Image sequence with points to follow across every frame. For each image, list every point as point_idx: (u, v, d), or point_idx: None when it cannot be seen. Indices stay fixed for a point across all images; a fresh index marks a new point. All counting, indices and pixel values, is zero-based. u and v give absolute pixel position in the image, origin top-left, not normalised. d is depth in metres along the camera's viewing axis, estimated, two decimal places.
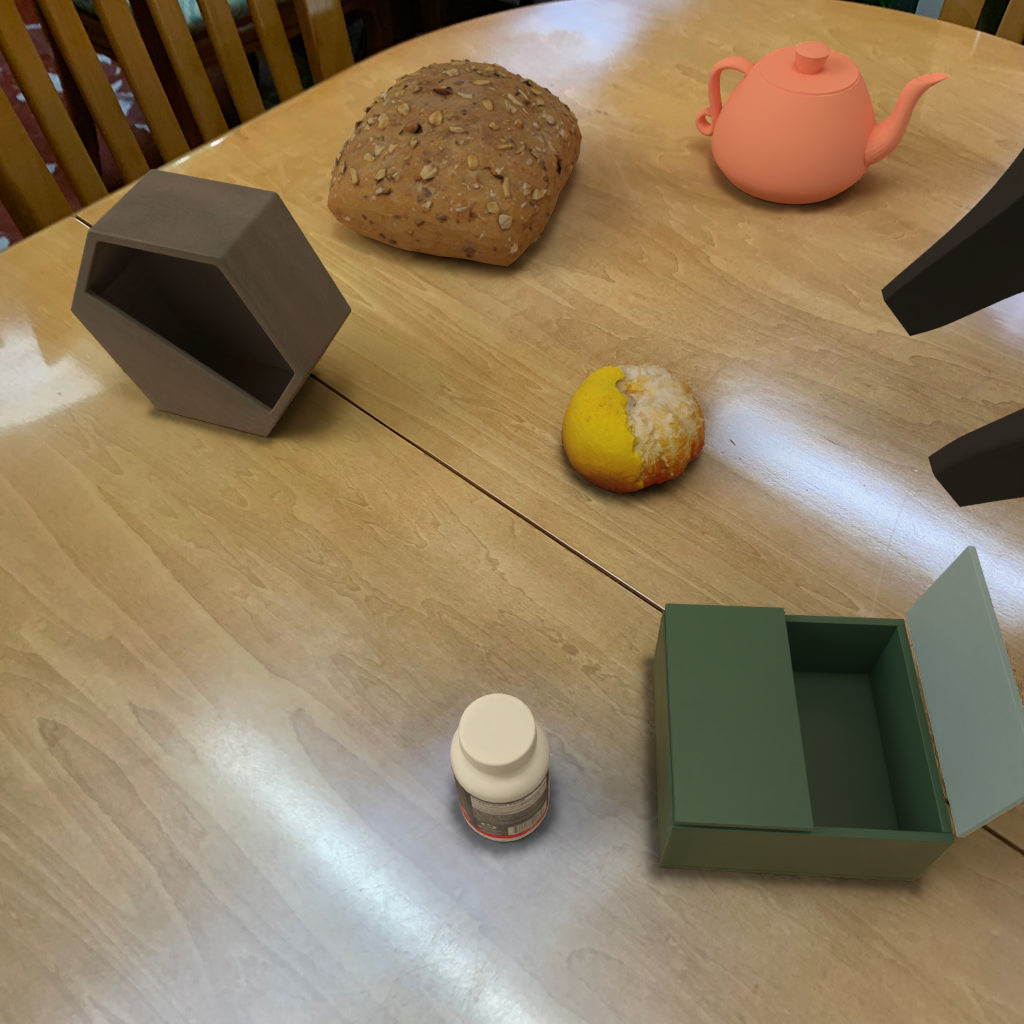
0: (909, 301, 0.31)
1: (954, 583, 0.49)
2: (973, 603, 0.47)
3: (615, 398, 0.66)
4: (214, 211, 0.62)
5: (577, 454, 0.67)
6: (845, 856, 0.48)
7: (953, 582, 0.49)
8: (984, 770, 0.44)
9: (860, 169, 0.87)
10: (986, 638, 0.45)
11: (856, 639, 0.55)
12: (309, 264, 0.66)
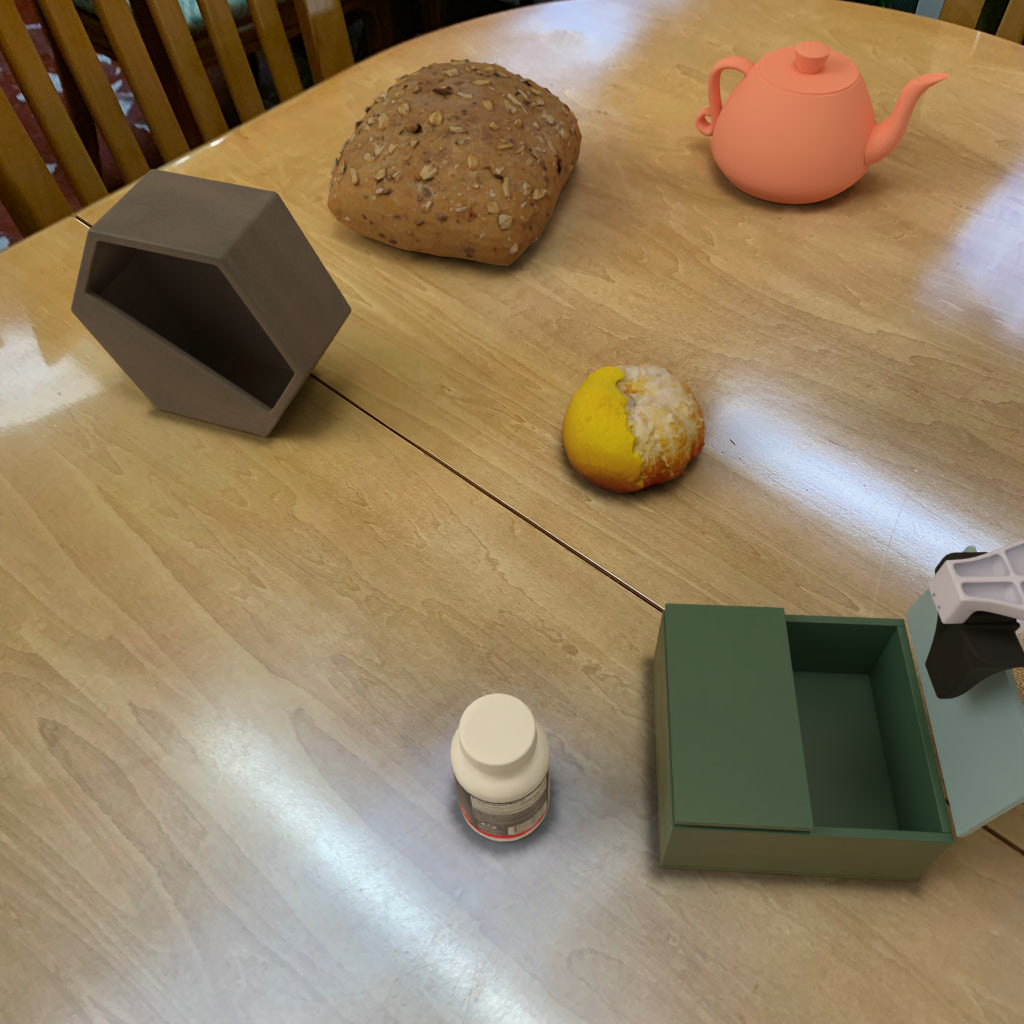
0: None
1: None
2: None
3: (615, 398, 0.66)
4: (214, 211, 0.62)
5: (577, 454, 0.67)
6: (845, 856, 0.48)
7: None
8: (984, 770, 0.44)
9: (860, 169, 0.87)
10: None
11: (856, 639, 0.55)
12: (309, 264, 0.66)
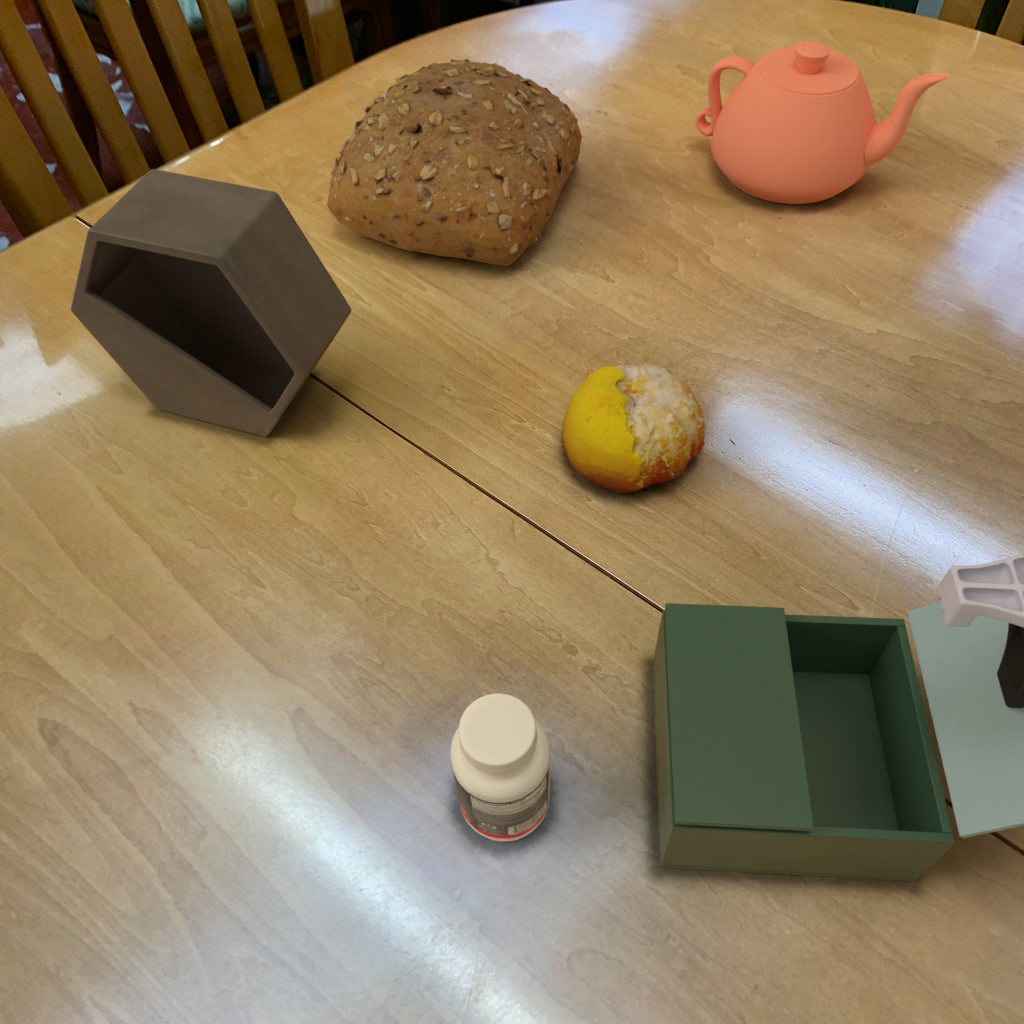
0: None
1: None
2: None
3: (615, 398, 0.66)
4: (214, 211, 0.62)
5: (577, 454, 0.67)
6: (845, 856, 0.48)
7: None
8: (1018, 779, 0.45)
9: (860, 169, 0.87)
10: None
11: (856, 639, 0.55)
12: (309, 264, 0.66)
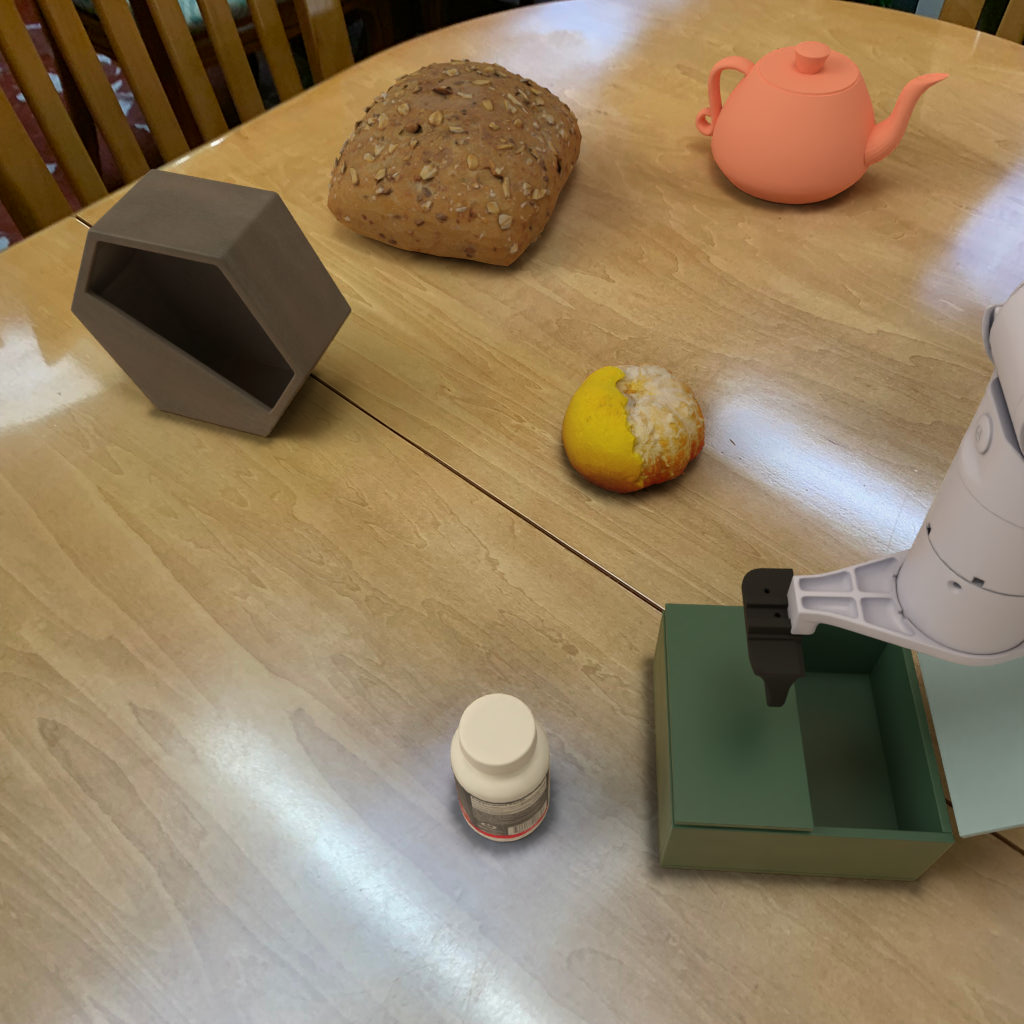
0: None
1: None
2: None
3: (615, 398, 0.66)
4: (214, 211, 0.62)
5: (577, 454, 0.67)
6: (845, 856, 0.48)
7: None
8: (1019, 779, 0.45)
9: (860, 169, 0.87)
10: None
11: (856, 639, 0.55)
12: (309, 264, 0.66)
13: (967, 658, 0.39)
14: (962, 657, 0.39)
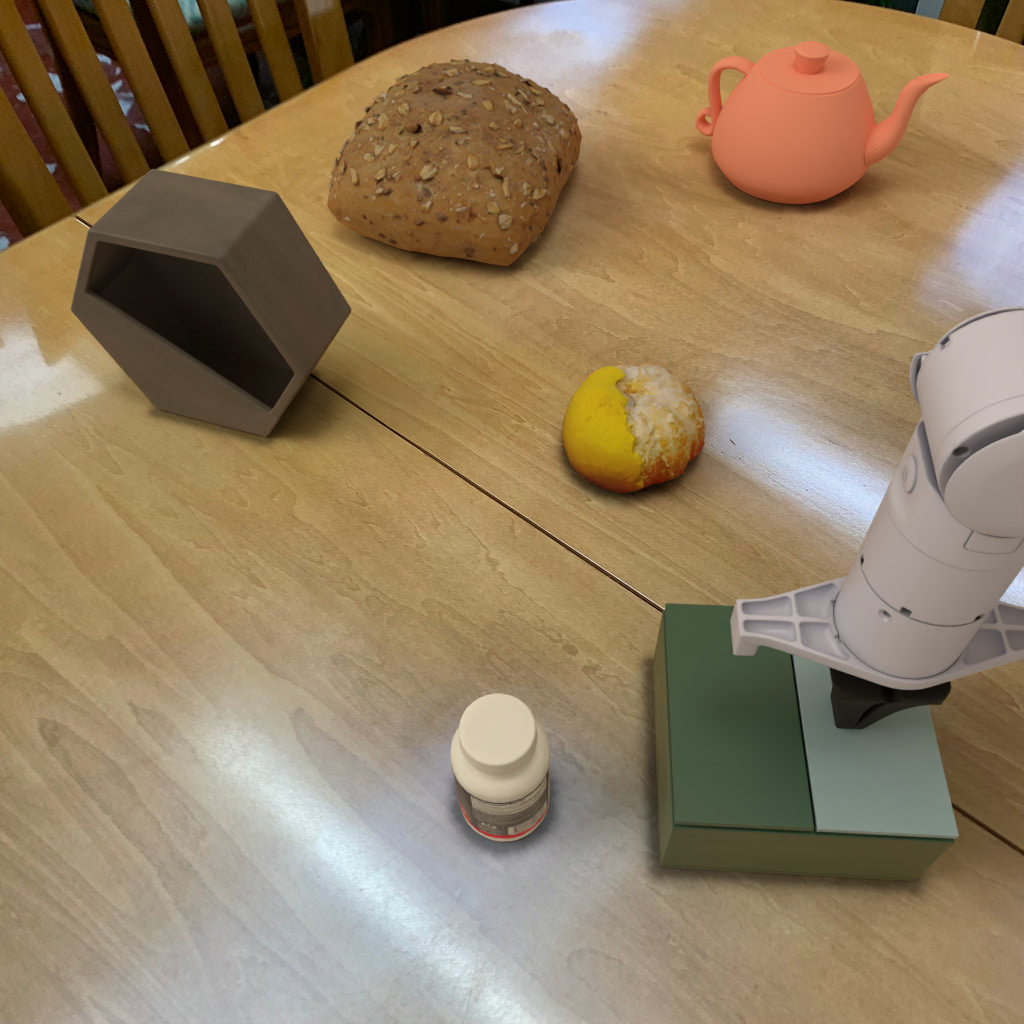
0: None
1: None
2: None
3: (615, 398, 0.66)
4: (214, 211, 0.62)
5: (577, 454, 0.67)
6: (845, 856, 0.48)
7: None
8: None
9: (860, 169, 0.87)
10: None
11: None
12: (309, 264, 0.66)
13: (897, 682, 0.41)
14: (892, 681, 0.41)
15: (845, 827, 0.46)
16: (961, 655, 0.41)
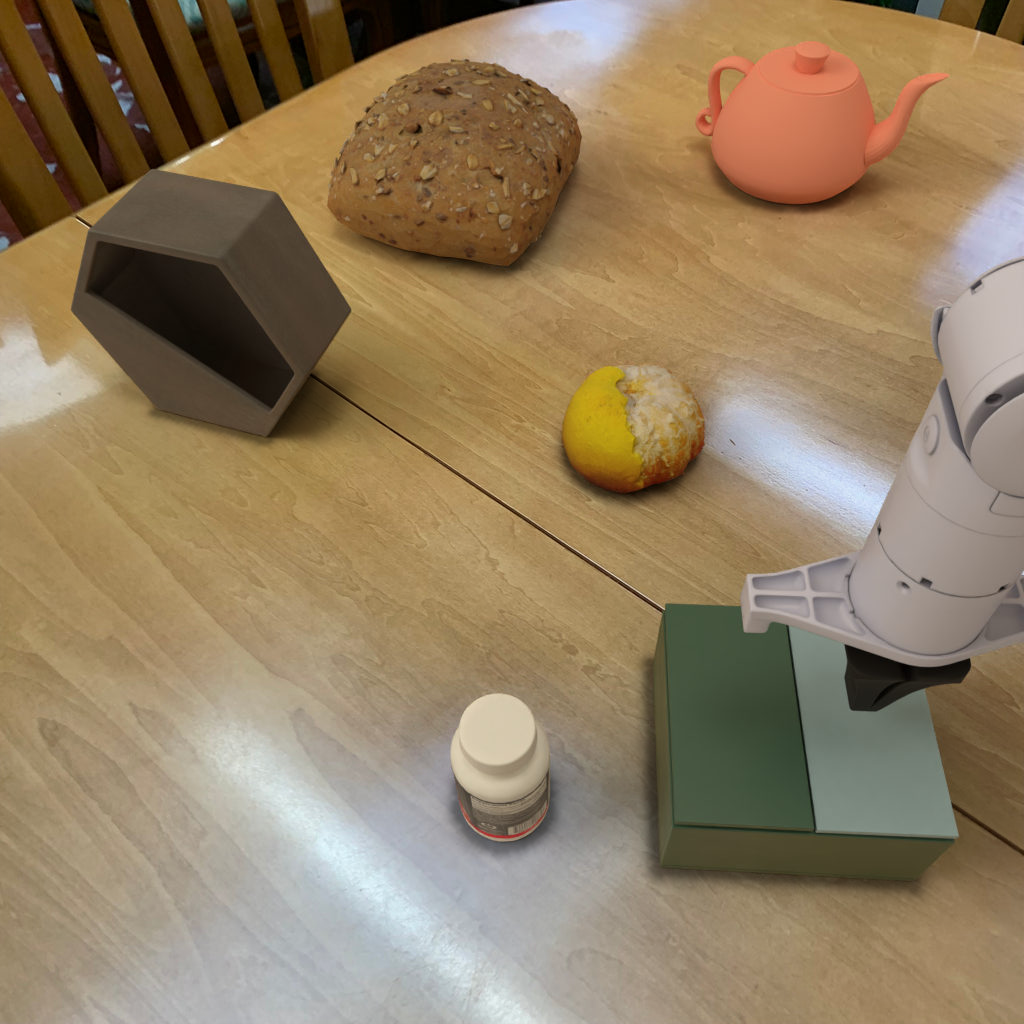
0: None
1: None
2: None
3: (615, 398, 0.66)
4: (214, 211, 0.62)
5: (577, 454, 0.67)
6: (845, 856, 0.48)
7: None
8: None
9: (860, 169, 0.87)
10: None
11: None
12: (309, 264, 0.66)
13: (916, 659, 0.39)
14: (911, 657, 0.39)
15: (845, 828, 0.46)
16: (982, 630, 0.39)
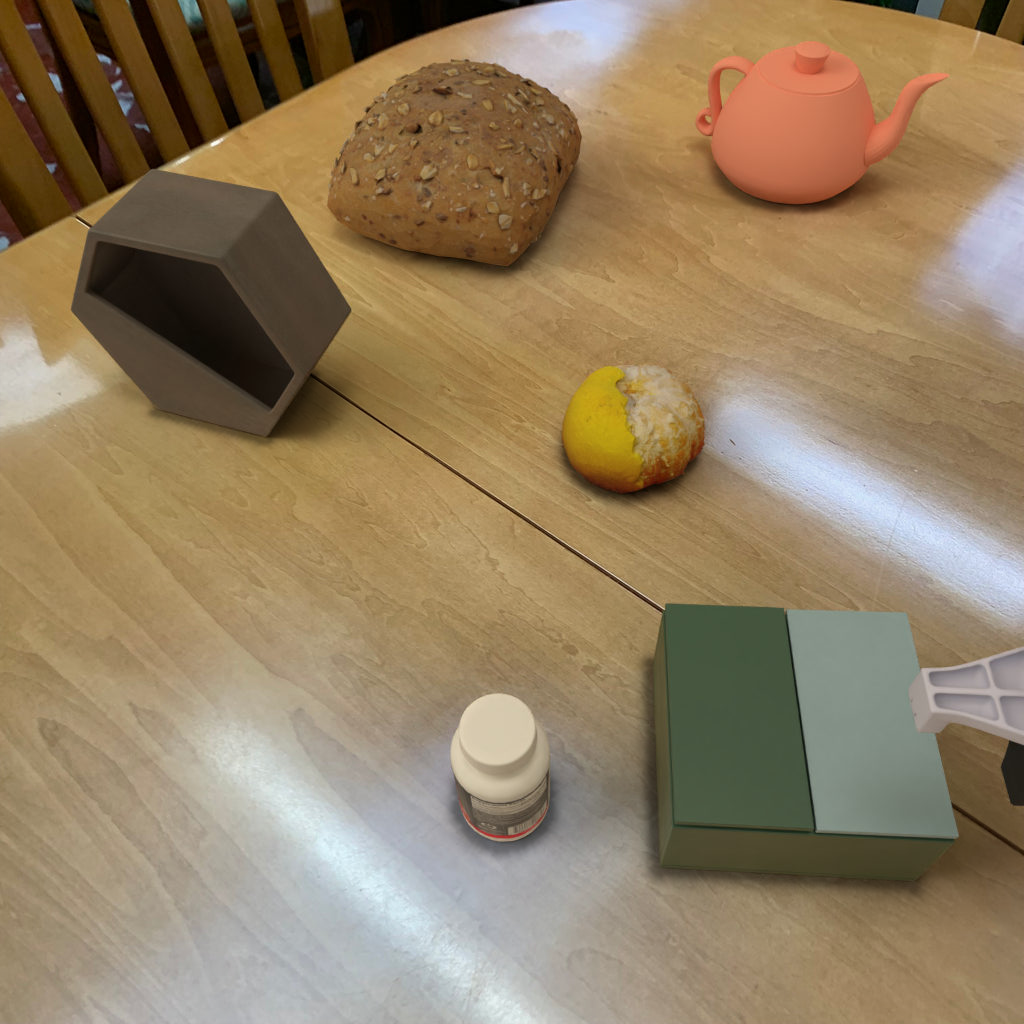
0: None
1: None
2: None
3: (615, 398, 0.66)
4: (214, 211, 0.62)
5: (577, 454, 0.67)
6: (845, 856, 0.48)
7: None
8: None
9: (860, 169, 0.87)
10: None
11: None
12: (309, 264, 0.66)
13: None
14: None
15: (845, 828, 0.46)
16: None
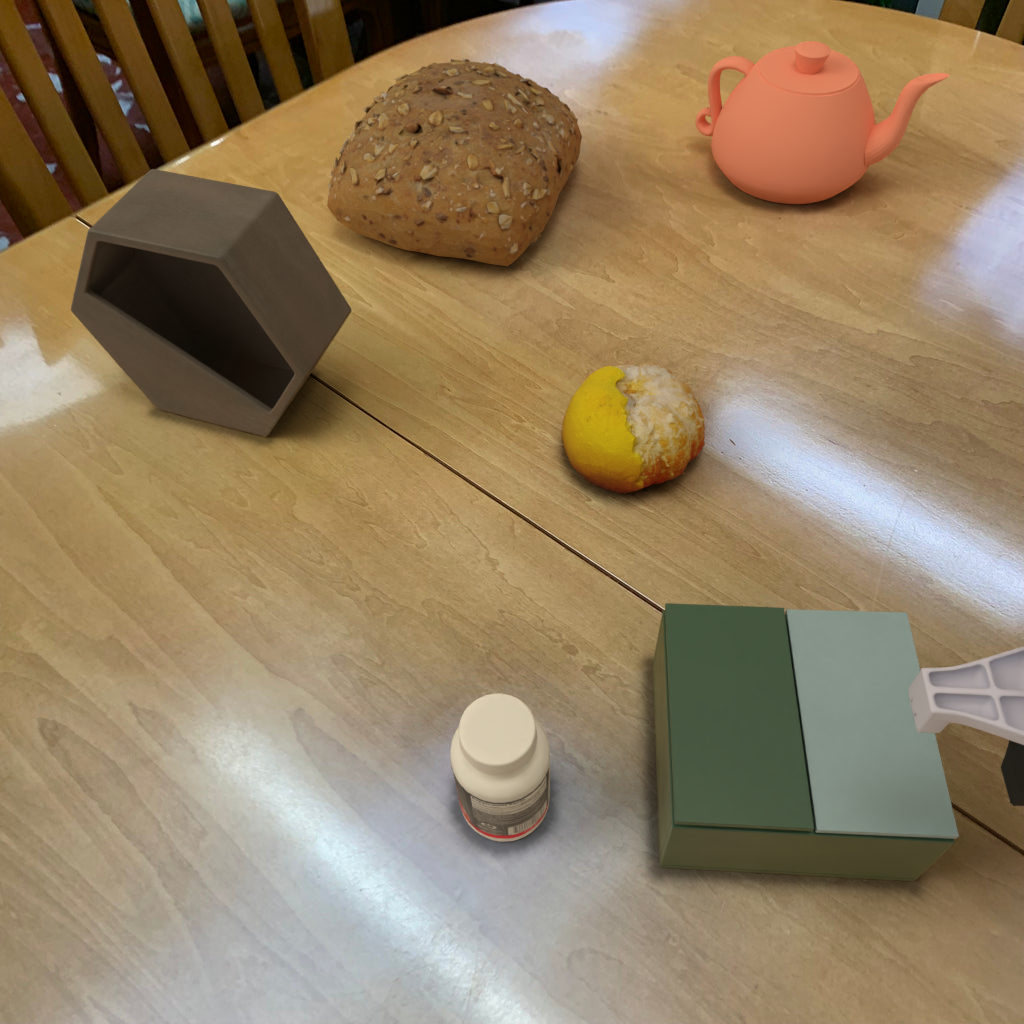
0: None
1: None
2: None
3: (615, 398, 0.66)
4: (214, 211, 0.62)
5: (577, 454, 0.67)
6: (845, 856, 0.48)
7: None
8: None
9: (860, 169, 0.87)
10: None
11: None
12: (309, 264, 0.66)
13: None
14: None
15: (845, 828, 0.46)
16: None
